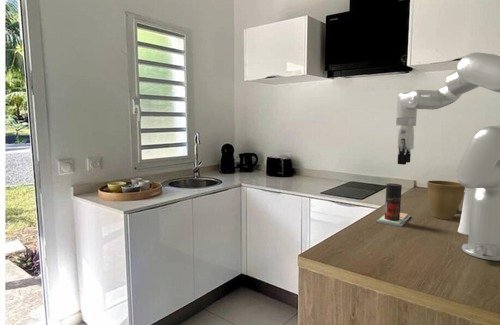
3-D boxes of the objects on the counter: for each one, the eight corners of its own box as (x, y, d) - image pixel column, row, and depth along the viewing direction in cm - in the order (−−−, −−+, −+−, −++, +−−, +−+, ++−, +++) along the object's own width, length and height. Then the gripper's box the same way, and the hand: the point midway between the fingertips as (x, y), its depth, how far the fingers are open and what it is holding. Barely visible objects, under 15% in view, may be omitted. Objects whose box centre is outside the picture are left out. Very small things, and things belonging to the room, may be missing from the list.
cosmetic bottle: (478, 233, 127) (483, 177, 124) (473, 236, 123) (478, 179, 120) (460, 229, 131) (465, 175, 129) (455, 232, 127) (460, 177, 125)
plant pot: (467, 223, 139) (470, 187, 137) (427, 220, 144) (430, 184, 142) (457, 214, 153) (460, 181, 151) (422, 211, 158) (424, 179, 156)
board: (401, 226, 134) (401, 223, 134) (376, 222, 140) (376, 219, 139) (410, 217, 148) (410, 214, 148) (387, 213, 154) (387, 210, 154)
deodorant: (381, 217, 142) (383, 183, 140) (392, 216, 144) (394, 183, 142) (391, 221, 136) (393, 186, 134) (402, 220, 138) (405, 185, 136)
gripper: (412, 122, 126) (410, 165, 128) (419, 122, 141) (416, 162, 142) (392, 122, 131) (390, 164, 132) (400, 122, 145) (398, 161, 147)
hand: (403, 163), depth 137 cm, fingers open, 9 cm apart
